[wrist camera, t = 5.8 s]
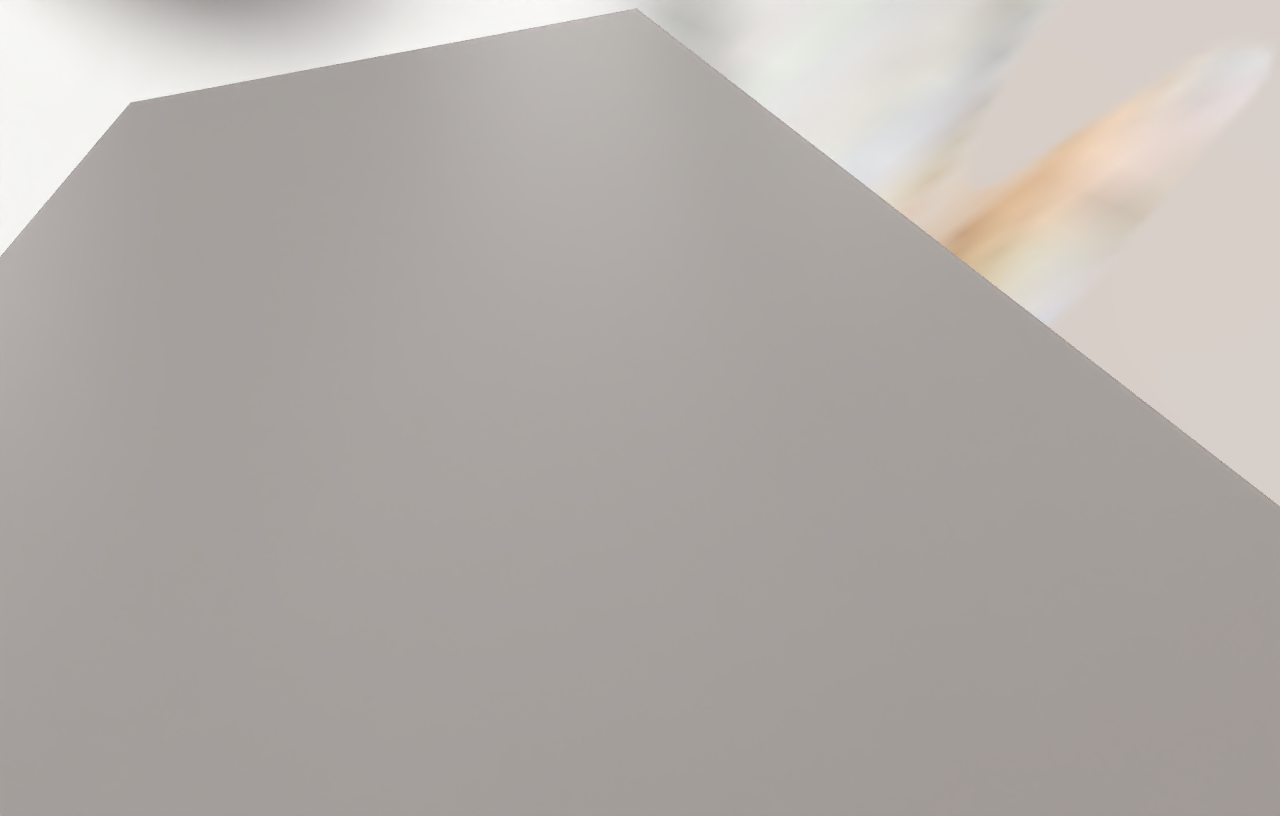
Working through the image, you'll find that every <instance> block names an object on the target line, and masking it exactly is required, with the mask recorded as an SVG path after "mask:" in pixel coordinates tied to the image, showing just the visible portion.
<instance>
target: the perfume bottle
mask: <svg viewBox="0 0 1280 816" xmlns="http://www.w3.org/2000/svg"><path fill="white" fill-rule="evenodd" d="M0 816H1280V506H1279V505H1277V504H1276V503H1275V502H1273V501H1272V500H1271V499H1270V498H1268V497H1267V496H1266V495H1264V494H1263V493H1262V492H1260V491H1259V490H1258V489H1257V488H1255V487H1254V486H1253V485H1251V484H1250V483H1249V482H1248V481H1246V480H1245V479H1244V478H1242V477H1241V476H1240V475H1238V474H1237V473H1236V472H1235V471H1233V470H1232V469H1231V468H1229V467H1228V466H1227V465H1226V464H1224V463H1223V462H1222V461H1220V460H1219V459H1218V458H1217V457H1215V456H1214V455H1213V454H1211V453H1210V452H1209V451H1207V450H1206V449H1205V448H1204V447H1202V446H1201V445H1200V444H1198V443H1197V442H1196V441H1195V440H1193V439H1192V438H1191V437H1189V436H1188V435H1187V434H1185V433H1184V432H1183V431H1182V430H1180V429H1179V428H1178V427H1177V426H1175V425H1174V424H1173V423H1171V422H1170V421H1169V420H1167V419H1166V418H1165V417H1164V416H1162V415H1161V414H1160V413H1158V412H1157V411H1156V410H1155V409H1153V408H1152V407H1151V406H1149V405H1148V404H1147V403H1146V402H1144V401H1143V400H1142V399H1140V398H1139V397H1137V396H1136V395H1135V394H1134V393H1133V392H1131V391H1130V390H1129V389H1127V388H1126V387H1125V386H1123V385H1122V384H1121V383H1120V382H1118V381H1117V380H1116V379H1114V378H1113V377H1112V376H1111V375H1109V374H1108V373H1107V372H1105V371H1104V370H1103V369H1102V368H1100V367H1099V366H1098V365H1096V364H1095V363H1094V362H1092V361H1091V360H1090V359H1089V358H1087V357H1086V356H1085V355H1083V354H1082V353H1081V352H1080V351H1078V350H1077V349H1076V348H1074V347H1073V346H1072V345H1071V344H1069V343H1068V342H1067V341H1065V340H1064V339H1063V338H1062V337H1060V336H1059V335H1058V334H1056V333H1055V332H1054V331H1053V330H1051V329H1050V328H1049V327H1047V326H1046V325H1045V324H1043V323H1042V322H1041V321H1040V320H1038V319H1037V318H1036V317H1034V316H1033V315H1032V314H1031V313H1029V312H1028V311H1027V310H1025V309H1024V308H1023V307H1022V306H1020V305H1019V304H1018V303H1016V302H1015V301H1014V300H1012V299H1011V298H1010V297H1009V296H1007V295H1006V294H1005V293H1003V292H1002V291H1001V290H1000V289H998V288H997V287H996V286H994V285H993V284H992V283H991V282H989V281H988V280H987V279H985V278H984V277H983V276H981V275H980V274H979V273H978V272H976V271H975V270H974V269H972V268H971V267H970V266H969V265H967V264H966V263H965V262H963V261H962V260H961V259H960V258H958V257H957V256H956V255H954V254H953V253H952V252H950V251H949V250H948V249H947V248H945V247H944V246H943V245H941V244H940V243H939V242H938V241H936V240H935V239H934V238H932V237H931V236H930V235H929V234H927V233H926V232H925V231H923V230H922V229H921V228H919V227H918V226H917V225H916V224H914V223H913V222H912V221H910V220H909V219H908V218H907V217H905V216H904V215H903V214H901V213H900V212H899V211H897V210H896V209H895V208H894V207H892V206H891V205H890V204H888V203H887V202H886V201H885V200H883V199H882V198H881V197H879V196H878V195H877V194H876V193H874V192H873V191H872V190H870V189H869V188H868V187H866V186H865V185H864V184H863V183H861V182H860V181H859V180H857V179H856V178H855V177H854V176H852V175H851V174H850V173H848V172H847V171H846V170H845V169H843V168H842V167H841V166H839V165H838V164H837V163H835V162H834V161H833V160H832V159H830V158H829V157H828V156H826V155H825V154H824V153H823V152H821V151H820V150H819V149H817V148H816V147H815V146H814V145H812V144H811V143H810V142H808V141H807V140H806V139H804V138H803V137H802V136H801V135H799V134H798V133H797V132H795V131H794V130H793V129H792V128H790V127H789V126H788V125H786V124H785V123H784V122H783V121H781V120H780V119H779V118H777V117H776V116H775V115H773V114H772V113H771V112H770V111H768V110H767V109H766V108H764V107H763V106H762V105H761V104H759V103H758V102H757V101H755V100H754V99H753V98H752V97H750V96H749V95H748V94H746V93H745V92H744V91H742V90H741V89H740V88H739V87H737V86H736V85H735V84H733V83H732V82H731V81H730V80H728V79H727V78H726V77H724V76H723V75H722V74H721V73H719V72H718V71H717V70H715V69H714V68H713V67H711V66H710V65H709V64H708V63H706V62H705V61H704V60H702V59H701V58H700V57H699V56H697V55H696V54H695V53H693V52H692V51H691V50H690V49H688V48H687V47H686V46H684V45H683V44H682V43H680V42H679V41H678V40H677V39H675V38H674V37H673V36H671V35H670V34H669V33H668V32H666V31H665V30H664V29H662V28H661V27H660V26H659V25H657V24H656V23H655V22H653V21H652V20H651V19H649V18H648V17H647V16H646V15H644V14H643V13H642V12H640V11H639V10H638V9H632V10H627V11H621V12H616V13H610V14H605V15H600V16H594V17H589V18H584V19H578V20H573V21H567V22H562V23H557V24H551V25H546V26H541V27H535V28H530V29H524V30H519V31H514V32H508V33H503V34H498V35H492V36H487V37H481V38H476V39H471V40H465V41H460V42H455V43H449V44H444V45H438V46H433V47H428V48H422V49H417V50H412V51H406V52H401V53H395V54H390V55H385V56H379V57H374V58H369V59H363V60H358V61H352V62H347V63H342V64H336V65H331V66H326V67H320V68H315V69H309V70H304V71H299V72H293V73H288V74H283V75H277V76H272V77H266V78H261V79H256V80H250V81H245V82H240V83H234V84H229V85H223V86H218V87H213V88H207V89H202V90H197V91H191V92H186V93H180V94H175V95H170V96H164V97H159V98H154V99H148V100H143V101H137V102H132V103H130V104H129V105H128V106H127V108H126V109H125V110H124V111H123V112H122V113H121V115H120V116H119V117H118V118H117V119H116V121H115V122H114V123H113V124H112V125H111V126H110V128H109V129H108V130H107V131H106V132H105V134H104V135H103V136H102V137H101V138H100V139H99V141H98V142H97V143H96V144H95V145H94V147H93V148H92V149H91V150H90V151H89V152H88V154H87V155H86V156H85V157H84V158H83V160H82V161H81V162H80V163H79V164H78V166H77V167H76V168H75V169H74V170H73V171H72V173H71V174H70V175H69V176H68V177H67V179H66V180H65V181H64V182H63V183H62V184H61V186H60V187H59V188H58V189H57V190H56V192H55V193H54V194H53V195H52V196H51V197H50V199H49V200H48V201H47V202H46V203H45V205H44V206H43V207H42V208H41V209H40V210H39V212H38V213H37V214H36V215H35V216H34V218H33V219H32V220H31V221H30V222H29V223H28V225H27V226H26V227H25V228H24V229H23V231H22V232H21V233H20V234H19V235H18V236H17V238H16V239H15V240H14V241H13V242H12V244H11V245H10V246H9V247H8V248H7V250H6V251H5V252H4V253H3V254H2V255H1V257H0Z"/></svg>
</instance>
